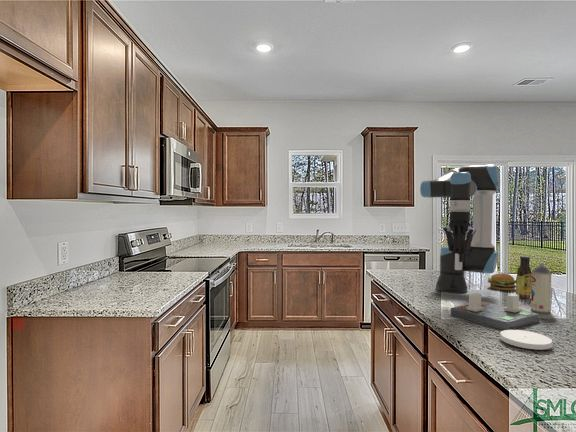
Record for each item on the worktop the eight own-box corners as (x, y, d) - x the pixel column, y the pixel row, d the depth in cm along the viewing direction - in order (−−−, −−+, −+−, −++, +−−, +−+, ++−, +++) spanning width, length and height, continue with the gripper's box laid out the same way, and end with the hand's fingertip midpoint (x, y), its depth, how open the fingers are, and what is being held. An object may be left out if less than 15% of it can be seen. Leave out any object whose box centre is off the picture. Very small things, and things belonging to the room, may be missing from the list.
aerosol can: (530, 308, 165) (531, 262, 165) (549, 310, 161) (550, 263, 161) (531, 312, 159) (532, 263, 159) (551, 314, 156) (552, 265, 155)
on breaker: (503, 310, 149) (504, 294, 149) (510, 308, 151) (511, 293, 151) (514, 312, 145) (514, 296, 145) (521, 310, 148) (521, 295, 148)
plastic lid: (504, 334, 131) (504, 327, 131) (554, 343, 122) (554, 336, 122) (495, 345, 120) (496, 337, 120) (549, 356, 111) (549, 348, 111)
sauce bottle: (526, 299, 182) (527, 257, 181) (513, 296, 187) (514, 256, 187) (534, 298, 185) (535, 257, 184) (521, 295, 190) (522, 255, 190)
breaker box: (450, 315, 152) (450, 307, 152) (482, 308, 164) (482, 300, 164) (507, 330, 133) (507, 321, 133) (538, 321, 145) (538, 313, 145)
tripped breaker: (466, 309, 149) (466, 293, 149) (473, 307, 152) (474, 292, 152) (476, 311, 146) (476, 296, 146) (483, 310, 148) (483, 294, 148)
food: (481, 287, 210) (481, 272, 210) (498, 285, 216) (499, 271, 216) (505, 292, 197) (505, 276, 197) (522, 290, 203) (523, 275, 203)
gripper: (439, 210, 158) (438, 268, 158) (469, 211, 147) (467, 272, 147) (451, 211, 162) (449, 266, 162) (480, 211, 151) (479, 271, 151)
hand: (458, 269), depth 155 cm, fingers closed
